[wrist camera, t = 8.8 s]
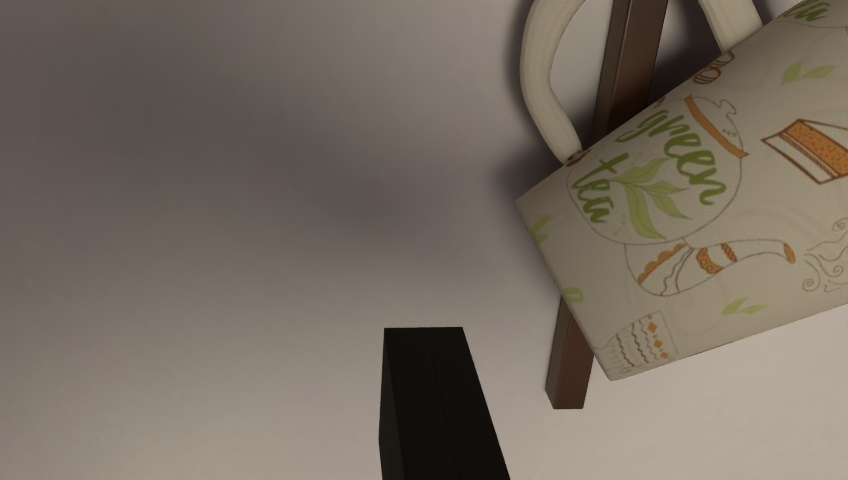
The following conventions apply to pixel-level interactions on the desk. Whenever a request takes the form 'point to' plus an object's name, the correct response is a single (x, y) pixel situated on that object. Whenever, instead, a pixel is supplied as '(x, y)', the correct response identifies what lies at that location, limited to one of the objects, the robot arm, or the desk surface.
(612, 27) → the strip
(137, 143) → the desk surface
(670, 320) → the mug
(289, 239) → the desk surface
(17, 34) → the desk surface
